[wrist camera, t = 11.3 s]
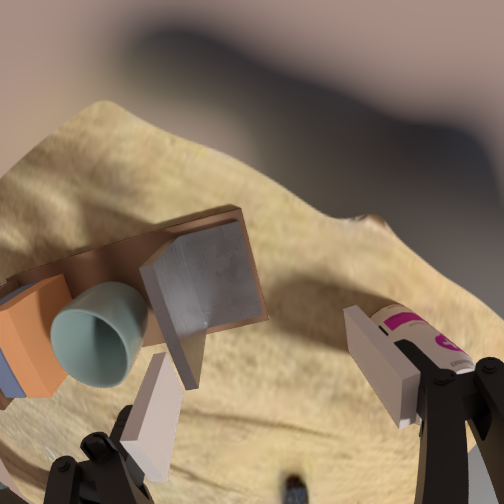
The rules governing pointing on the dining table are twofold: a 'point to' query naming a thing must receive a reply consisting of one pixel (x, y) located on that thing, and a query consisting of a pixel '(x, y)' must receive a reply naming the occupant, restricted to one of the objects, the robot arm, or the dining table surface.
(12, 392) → the book navy
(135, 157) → the dining table surface
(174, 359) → the bookend
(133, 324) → the cup
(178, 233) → the shelf
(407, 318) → the supplement can
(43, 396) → the book terracotta
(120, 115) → the dining table surface
